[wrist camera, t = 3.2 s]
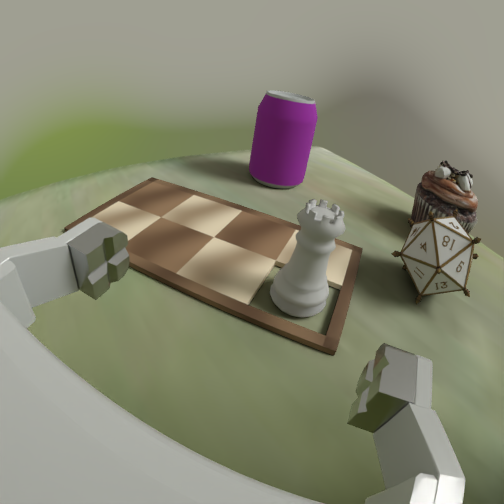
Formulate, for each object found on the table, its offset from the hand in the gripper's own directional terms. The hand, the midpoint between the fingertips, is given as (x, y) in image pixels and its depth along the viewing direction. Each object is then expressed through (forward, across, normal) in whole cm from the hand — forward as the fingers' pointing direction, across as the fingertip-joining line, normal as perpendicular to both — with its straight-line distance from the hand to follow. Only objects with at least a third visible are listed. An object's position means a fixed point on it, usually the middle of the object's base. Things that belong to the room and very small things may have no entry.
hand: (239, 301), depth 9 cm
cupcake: (+34, -15, +10) cm, 39 cm away
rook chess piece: (+12, -1, +10) cm, 16 cm away
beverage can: (+33, +9, +10) cm, 36 cm away
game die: (+20, -12, +10) cm, 25 cm away
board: (+15, +8, +10) cm, 20 cm away
